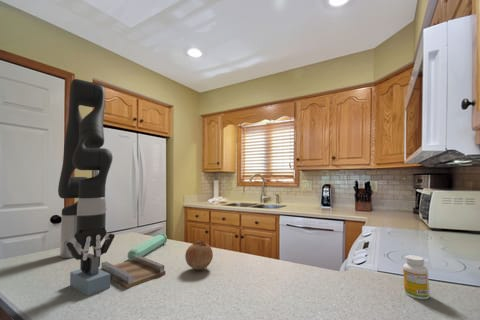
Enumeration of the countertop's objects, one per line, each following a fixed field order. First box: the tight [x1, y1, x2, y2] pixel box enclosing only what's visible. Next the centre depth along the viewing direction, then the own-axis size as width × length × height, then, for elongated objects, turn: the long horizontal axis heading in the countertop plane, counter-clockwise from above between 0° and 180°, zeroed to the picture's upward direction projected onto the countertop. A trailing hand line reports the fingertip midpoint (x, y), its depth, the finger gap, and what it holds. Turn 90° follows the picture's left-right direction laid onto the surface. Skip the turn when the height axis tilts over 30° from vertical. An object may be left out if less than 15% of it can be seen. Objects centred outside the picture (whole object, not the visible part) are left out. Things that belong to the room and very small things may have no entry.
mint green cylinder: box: [127, 232, 168, 261], centre depth 106 cm, size 6×6×25 cm
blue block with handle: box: [69, 252, 111, 297], centre depth 73 cm, size 12×6×9 cm, turn 55°
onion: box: [184, 240, 214, 271], centre depth 84 cm, size 10×9×10 cm
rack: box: [99, 254, 167, 289], centre depth 82 cm, size 20×13×3 cm, turn 50°
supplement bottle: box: [402, 254, 431, 300], centre depth 64 cm, size 5×5×10 cm
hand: (90, 270), depth 73 cm, fingers closed on blue block with handle
